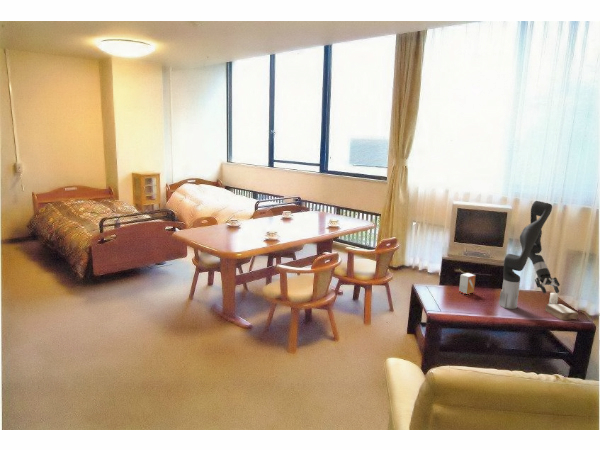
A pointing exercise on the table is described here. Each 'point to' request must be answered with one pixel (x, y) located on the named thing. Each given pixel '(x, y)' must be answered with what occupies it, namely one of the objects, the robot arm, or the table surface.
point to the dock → (561, 311)
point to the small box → (467, 283)
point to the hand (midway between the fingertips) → (551, 292)
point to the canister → (553, 298)
